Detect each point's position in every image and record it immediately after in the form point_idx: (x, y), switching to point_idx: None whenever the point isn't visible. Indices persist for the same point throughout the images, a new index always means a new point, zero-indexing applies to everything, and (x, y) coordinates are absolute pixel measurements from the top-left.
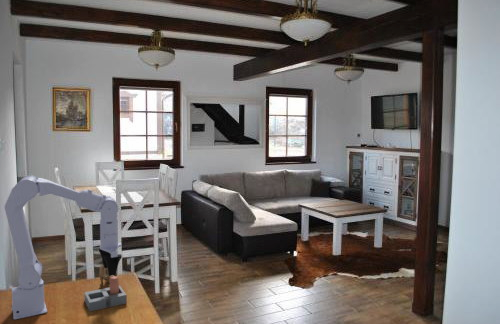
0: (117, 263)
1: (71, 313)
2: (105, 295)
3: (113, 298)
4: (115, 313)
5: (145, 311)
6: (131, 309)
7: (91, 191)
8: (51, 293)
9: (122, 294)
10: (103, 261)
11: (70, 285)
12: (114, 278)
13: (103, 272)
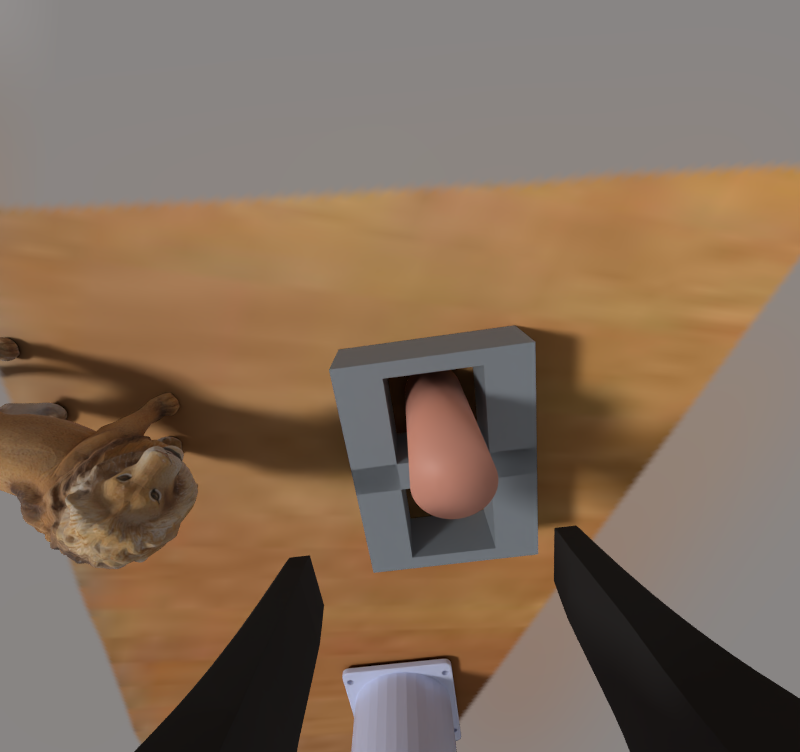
0: (745, 675)
1: (499, 580)
2: None
3: (533, 426)
4: (617, 401)
5: (706, 217)
6: (620, 306)
7: None
8: None
9: (514, 368)
10: (304, 708)
11: (144, 586)
12: (469, 481)
13: (182, 518)
